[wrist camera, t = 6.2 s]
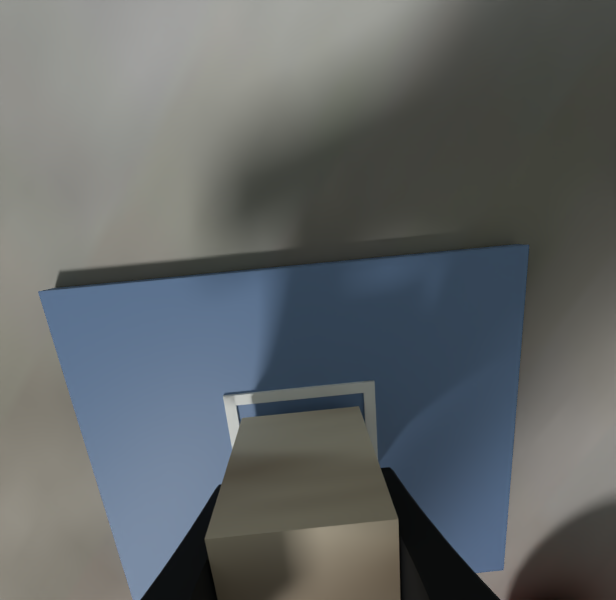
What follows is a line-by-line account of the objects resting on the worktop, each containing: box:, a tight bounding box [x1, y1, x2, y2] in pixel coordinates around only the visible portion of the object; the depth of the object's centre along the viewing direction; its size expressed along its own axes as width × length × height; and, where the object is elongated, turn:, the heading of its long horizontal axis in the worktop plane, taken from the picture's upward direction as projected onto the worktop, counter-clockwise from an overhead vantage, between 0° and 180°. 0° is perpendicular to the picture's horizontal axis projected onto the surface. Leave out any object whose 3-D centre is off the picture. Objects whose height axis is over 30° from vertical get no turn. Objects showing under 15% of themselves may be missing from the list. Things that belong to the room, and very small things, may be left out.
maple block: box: [205, 406, 400, 600], centre depth 8 cm, size 4×4×4 cm
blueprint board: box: [38, 244, 529, 600], centre depth 11 cm, size 14×16×1 cm
